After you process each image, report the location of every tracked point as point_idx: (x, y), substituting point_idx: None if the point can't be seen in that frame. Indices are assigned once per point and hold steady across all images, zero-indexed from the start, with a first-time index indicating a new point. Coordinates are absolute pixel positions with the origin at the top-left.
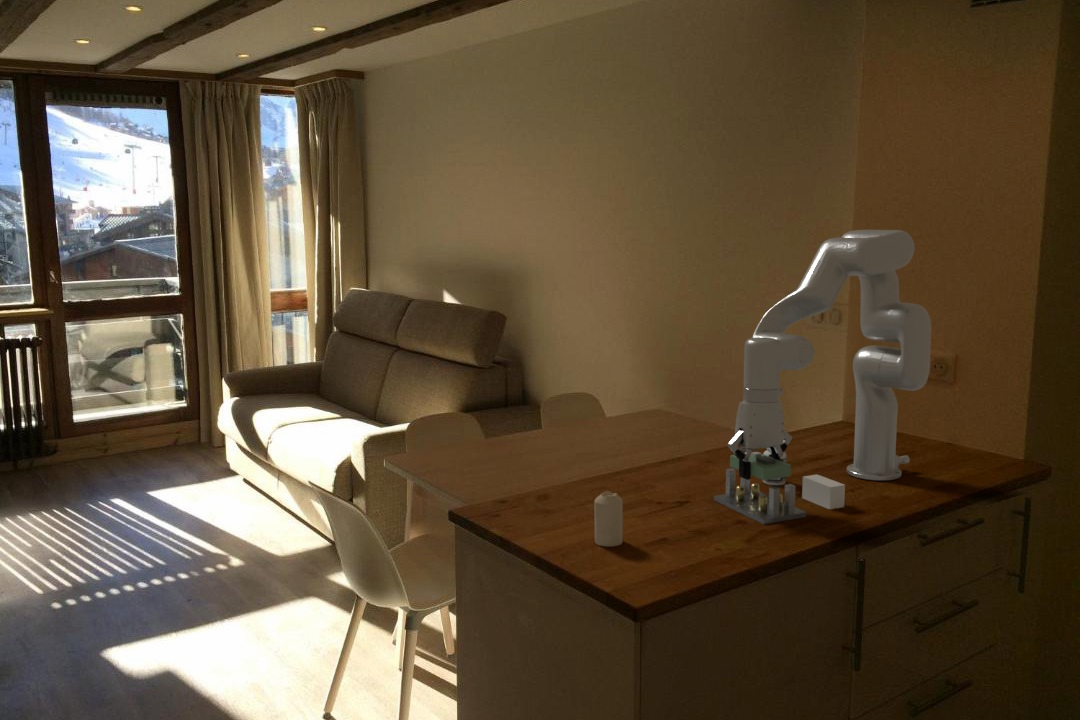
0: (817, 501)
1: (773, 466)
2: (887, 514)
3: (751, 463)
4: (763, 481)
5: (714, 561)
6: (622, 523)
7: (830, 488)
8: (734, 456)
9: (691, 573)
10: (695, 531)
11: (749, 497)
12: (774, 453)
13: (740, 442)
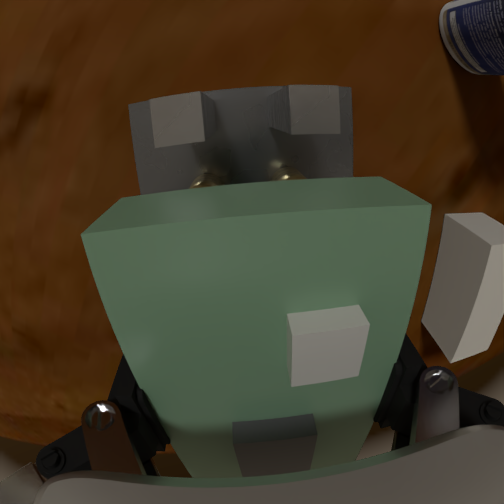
0: (436, 284)
1: None
2: (465, 361)
3: (174, 442)
4: (440, 16)
5: (54, 425)
6: None
7: (449, 359)
8: (109, 286)
9: (29, 428)
10: (24, 336)
11: (263, 176)
12: (401, 419)
13: (99, 498)
